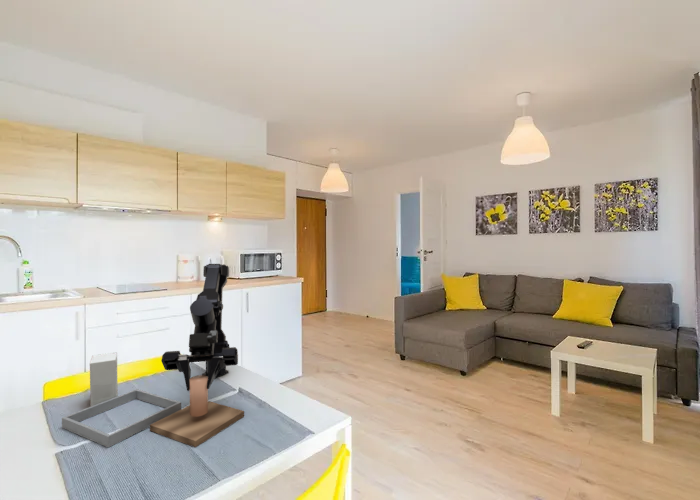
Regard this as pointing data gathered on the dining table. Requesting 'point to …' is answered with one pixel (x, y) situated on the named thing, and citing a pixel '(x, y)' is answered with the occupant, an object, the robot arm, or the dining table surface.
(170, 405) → the tray
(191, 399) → the copper brown cylinder
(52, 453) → the dining table surface
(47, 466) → the dining table surface
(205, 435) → the board
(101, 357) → the small box
